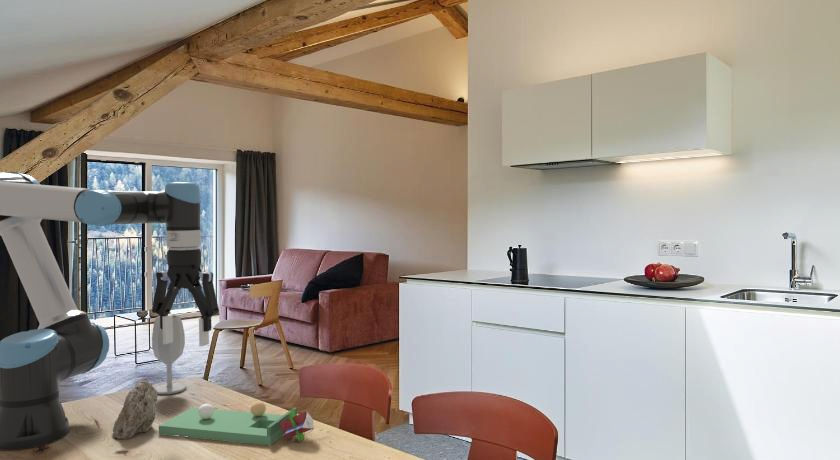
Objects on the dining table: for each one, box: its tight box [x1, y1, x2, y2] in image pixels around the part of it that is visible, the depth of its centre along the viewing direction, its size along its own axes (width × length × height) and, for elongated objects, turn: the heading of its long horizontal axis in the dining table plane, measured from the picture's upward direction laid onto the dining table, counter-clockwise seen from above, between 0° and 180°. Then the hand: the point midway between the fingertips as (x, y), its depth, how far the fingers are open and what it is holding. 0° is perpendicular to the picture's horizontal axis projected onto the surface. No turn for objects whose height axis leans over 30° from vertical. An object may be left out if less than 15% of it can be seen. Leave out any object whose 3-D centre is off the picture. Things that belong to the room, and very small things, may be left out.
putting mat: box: [158, 407, 298, 446], centre depth 143 cm, size 28×13×4 cm, turn 76°
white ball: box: [198, 403, 215, 419], centre depth 145 cm, size 4×4×4 cm
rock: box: [112, 380, 158, 440], centre depth 143 cm, size 14×10×8 cm
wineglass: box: [151, 314, 188, 395], centre depth 173 cm, size 9×9×21 cm
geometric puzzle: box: [279, 407, 315, 444], centre depth 137 cm, size 7×7×8 cm
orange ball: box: [250, 400, 267, 417], centre depth 146 cm, size 4×4×4 cm
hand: (186, 343), depth 145 cm, fingers open, 9 cm apart
